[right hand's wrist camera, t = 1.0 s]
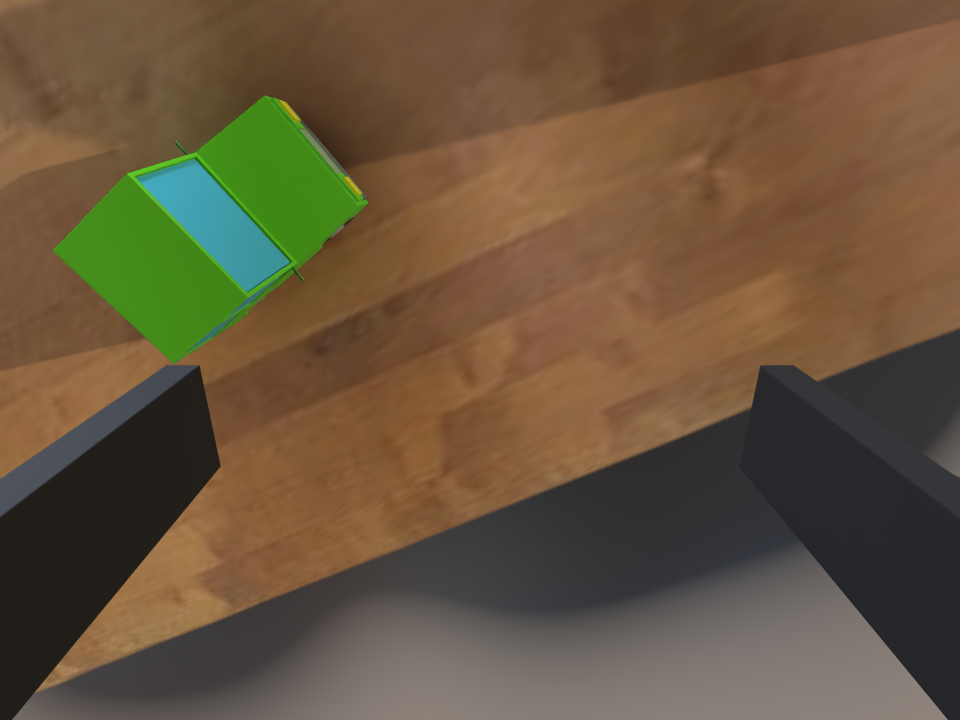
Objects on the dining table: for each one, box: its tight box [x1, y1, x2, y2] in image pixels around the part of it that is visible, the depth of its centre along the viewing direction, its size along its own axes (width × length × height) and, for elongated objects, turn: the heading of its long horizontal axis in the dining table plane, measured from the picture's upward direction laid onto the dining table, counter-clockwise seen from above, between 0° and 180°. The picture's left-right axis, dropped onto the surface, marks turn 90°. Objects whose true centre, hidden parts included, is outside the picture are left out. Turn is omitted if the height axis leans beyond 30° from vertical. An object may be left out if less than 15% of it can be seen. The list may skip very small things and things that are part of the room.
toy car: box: [53, 96, 369, 364], centre depth 32 cm, size 10×13×10 cm
